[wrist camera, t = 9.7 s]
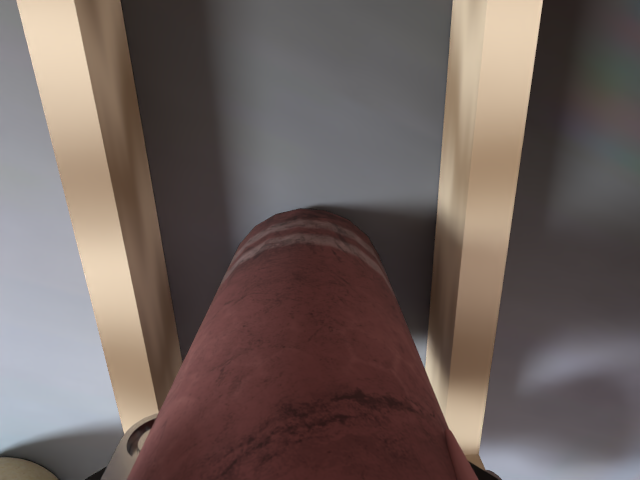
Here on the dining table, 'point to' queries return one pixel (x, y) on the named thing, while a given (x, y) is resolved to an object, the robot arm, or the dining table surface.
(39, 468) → the flower pot
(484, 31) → the bay
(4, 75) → the dining table surface
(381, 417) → the can
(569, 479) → the dining table surface
